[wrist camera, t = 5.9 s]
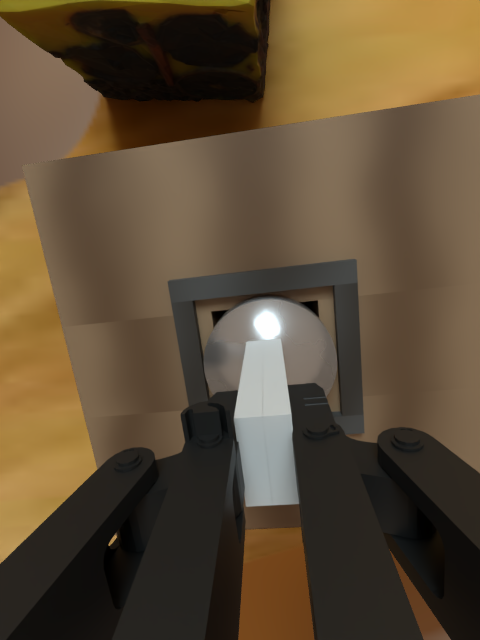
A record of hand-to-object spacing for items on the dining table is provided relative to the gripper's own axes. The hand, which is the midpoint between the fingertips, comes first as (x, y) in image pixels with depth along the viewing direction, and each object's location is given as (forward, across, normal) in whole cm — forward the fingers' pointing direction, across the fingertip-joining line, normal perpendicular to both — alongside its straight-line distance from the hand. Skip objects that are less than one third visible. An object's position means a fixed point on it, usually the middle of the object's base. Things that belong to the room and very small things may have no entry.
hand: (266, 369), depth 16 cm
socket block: (+10, 0, 0) cm, 10 cm away
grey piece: (+9, 0, 0) cm, 9 cm away
